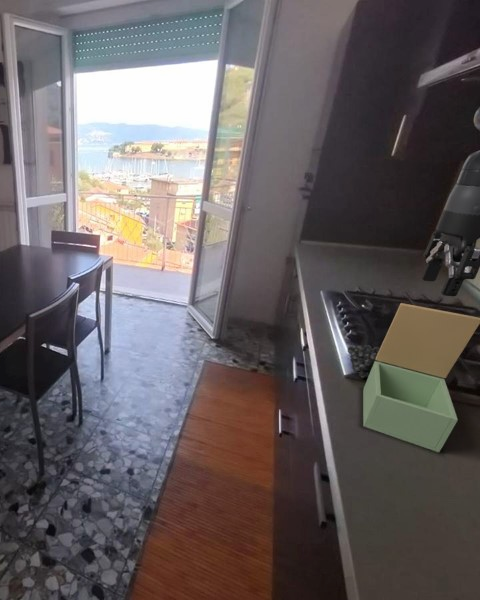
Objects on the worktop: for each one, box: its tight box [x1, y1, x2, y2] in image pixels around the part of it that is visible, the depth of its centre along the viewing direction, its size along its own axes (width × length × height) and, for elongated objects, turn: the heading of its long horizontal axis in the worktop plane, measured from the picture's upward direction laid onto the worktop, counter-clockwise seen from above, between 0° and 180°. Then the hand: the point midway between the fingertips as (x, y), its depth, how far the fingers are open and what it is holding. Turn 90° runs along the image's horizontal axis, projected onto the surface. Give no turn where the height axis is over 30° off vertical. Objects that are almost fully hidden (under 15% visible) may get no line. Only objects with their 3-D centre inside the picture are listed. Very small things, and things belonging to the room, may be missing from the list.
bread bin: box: [362, 361, 459, 453], centre depth 80 cm, size 16×13×9 cm
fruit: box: [347, 344, 394, 380], centre depth 97 cm, size 9×8×15 cm
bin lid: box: [376, 302, 480, 379], centre depth 79 cm, size 16×13×1 cm
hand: (437, 287), depth 75 cm, fingers open, 8 cm apart
